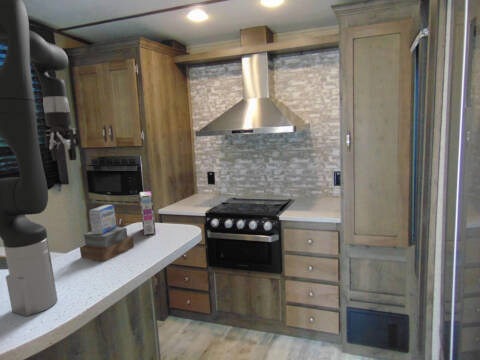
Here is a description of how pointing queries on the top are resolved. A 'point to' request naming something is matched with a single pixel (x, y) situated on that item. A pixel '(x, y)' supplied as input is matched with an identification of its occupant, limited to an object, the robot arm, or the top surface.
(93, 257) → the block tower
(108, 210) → the medicine box
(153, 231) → the white cardboard box
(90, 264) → the top surface
